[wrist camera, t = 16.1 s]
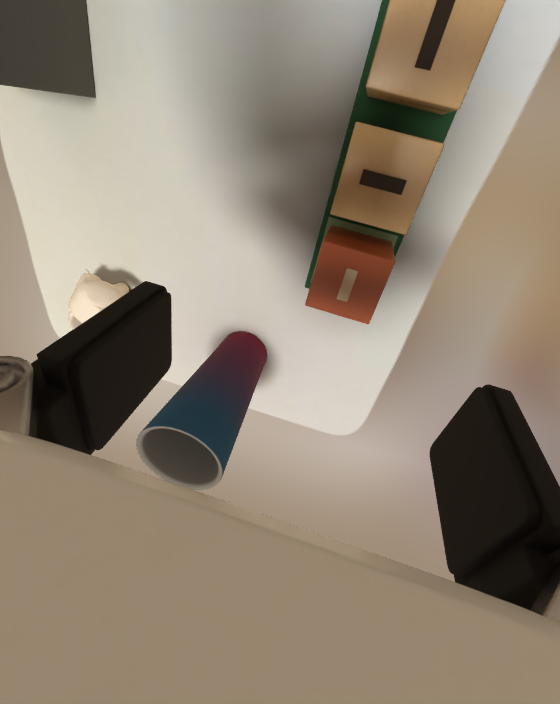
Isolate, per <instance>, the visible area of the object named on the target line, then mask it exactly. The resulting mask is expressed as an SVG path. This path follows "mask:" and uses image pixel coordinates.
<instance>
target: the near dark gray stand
mask: <svg viewBox="0 0 560 704" xmlns="http://www.w3.org/2000/svg"><path fill="white" fill-rule="evenodd" d="M0 85H6V86H13V87H20V88H28V89H35V90H42V91H49V92H57V93H64V94H71V95H78V96H86V97H93V98H95V88H94V78H93V68H92V59H91V49H90V39H89V29H88V19H87V10H86V0H0Z"/></svg>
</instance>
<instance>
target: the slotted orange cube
mask: <svg viewBox="0 0 560 704" xmlns="http://www.w3.org/2000/svg"><path fill="white" fill-rule="evenodd" d="M394 264H395V257H394V251H393V244H392V242H391V241H387V240H384V239H380V238H377V237H373V236H369V235H366V234H362V233H359V232H355V231H352V230H348V229H344V228H341V227H337V226H334V225H331V226H330V228H329V230H328V232H327V234H326V236H325V238H324V240H323V243H322V246H321V250H320V253H319V257H318V261H317V264H316V268H315V271H314V275H313V278H312V282H311V285H310V289H309V293H308V296H307V300H306V303H305V305H306V306H309V307H313V308H316V309H319V310H323V311H326V312H329V313H332V314H336V315H339V316H342V317H346V318H349V319H352V320H356V321H359V322H362V323H366V324H369V323H370V320H371V318H372V316H373V313H374V311H375V309H376V306H377V304H378V301H379V299H380V297H381V294H382V292H383V290H384V287H385V285H386V283H387V280H388V278H389V276H390V273H391V271H392V269H393V266H394Z"/></svg>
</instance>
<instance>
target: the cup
mask: <svg viewBox="0 0 560 704" xmlns="http://www.w3.org/2000/svg"><path fill="white" fill-rule="evenodd" d="M266 357H267V353H266V349H265V346H264V344H263V343H262V342H261V341H260V339H258V338H257V337H256V336H254V335H253V334H250V333H247V332H234V333H232V334H230V335H229V336H228V337H227V338H226V339H225V340H224V341H223V342H222V343H221V344H220V345H219V347H218V348H217V349H216V350H215V351H214V352H213V353H212V354H211V355H210V356H209V358H208V359H207V360H206V361H205V362H204V363H203V364H202V365H201V366H200V367H199V369H198V370H197V371H196V372H195V373H194V374H193V375H192V376H191V377H190V379H189V380H188V381H187V382H186V383H185V384H184V385H183V386H182V387H181V388H180V390H179V391H178V392H177V393H176V394H175V395H174V396H173V397H172V399H171V400H170V401H169V402H168V403H167V404H166V405H165V406H164V407H163V408H162V409H161V411H160V412H159V413H158V414H157V415H156V416H155V417H154V418H153V419H152V421H151V422H150V423H149V424H148V425H147V426H146V427H145V428H144V429H143V430H142V432H141V433H140V434H139V435H138V438H137V441H136V446H137V451H138V453H139V455H140V457H141V459H142V460H143V462H144V463H145V464H146V465H147V466H148V467H149V469H151V470H152V471H153V472H154V473H155V474H157V475H158V476H160V477H161V478H163V479H164V480H166V481H168V482H171V483H174V484H177V485H180V486H183V487H186V488H189V489H193V490H203V489H209V488H212V487H214V486H215V485H217V484H218V483H219V482H220V480H221V478H222V476H223V473H224V470H225V468H226V465H227V462H228V460H229V457H230V454H231V451H232V449H233V446H234V444H235V441H236V438H237V436H238V433H239V430H240V427H241V425H242V422H243V420H244V417H245V414H246V411H247V409H248V406H249V404H250V401H251V398H252V396H253V393H254V390H255V388H256V385H257V382H258V380H259V377H260V374H261V372H262V369H263V366H264V364H265V361H266Z"/></svg>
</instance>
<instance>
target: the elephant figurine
mask: <svg viewBox="0 0 560 704" xmlns="http://www.w3.org/2000/svg"><path fill="white" fill-rule="evenodd" d="M86 271H87V272H88V273H84V274H83V275H82V276H81V277H80V278H79V280H78V282H77V284H76V288H75V291H74V293H73V294H72V296H71V297H70V300H69V308H70V311H69V317H68V323H69V326H70V328H71V329H72V330H73V329H75V328H76V327H78V326H79V325H81V324H82V323H84V322H85V321H87V320H88V319H90V318H91V317H93V316H94V315H95V314H97V313H98V312H100V311H101V310H103V309H104V308H106V307H107V306H109V305H110V304H112V303H113V302H115V301H116V300H118V299H119V298H121V297H122V296H124V295H125V294H127V293H128V292H129V288H128V286H127V285H126V284H125V283H118V284H114V285H112V284H110V283H108V282H105V281H101V279H100V278H99V277H98V276H96V275H93V274H91V273H90V272H89V271H88V270H87V269H86Z"/></svg>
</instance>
